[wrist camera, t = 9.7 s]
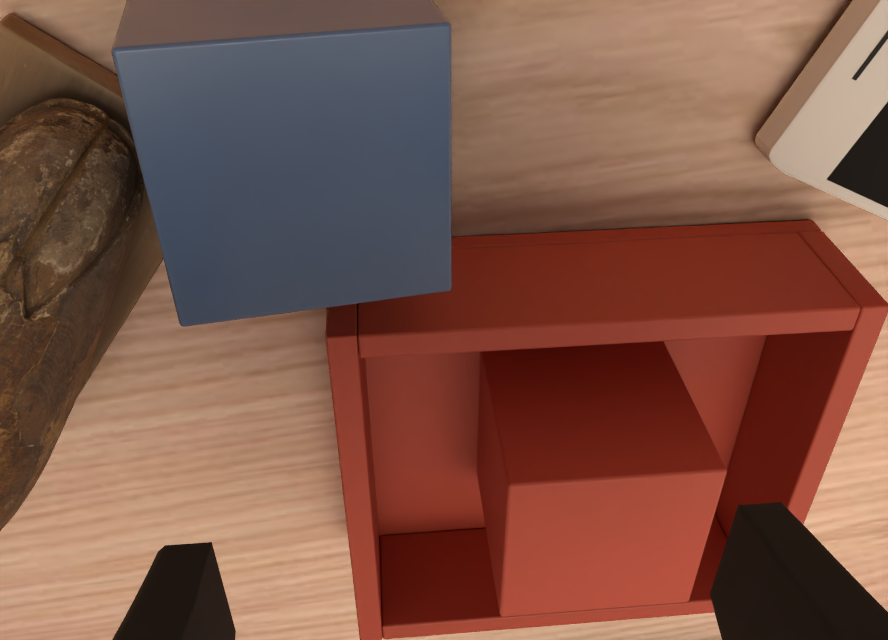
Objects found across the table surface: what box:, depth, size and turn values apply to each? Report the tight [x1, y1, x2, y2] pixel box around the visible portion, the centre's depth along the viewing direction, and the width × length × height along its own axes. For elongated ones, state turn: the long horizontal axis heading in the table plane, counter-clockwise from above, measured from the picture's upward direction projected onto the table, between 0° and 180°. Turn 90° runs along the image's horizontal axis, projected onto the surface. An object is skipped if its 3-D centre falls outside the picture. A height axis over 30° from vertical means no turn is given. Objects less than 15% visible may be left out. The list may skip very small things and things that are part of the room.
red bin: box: [326, 220, 888, 640], centre depth 20 cm, size 11×10×4 cm
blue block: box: [112, 0, 452, 327], centre depth 14 cm, size 4×4×4 cm
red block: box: [477, 341, 727, 617], centre depth 19 cm, size 4×4×4 cm
